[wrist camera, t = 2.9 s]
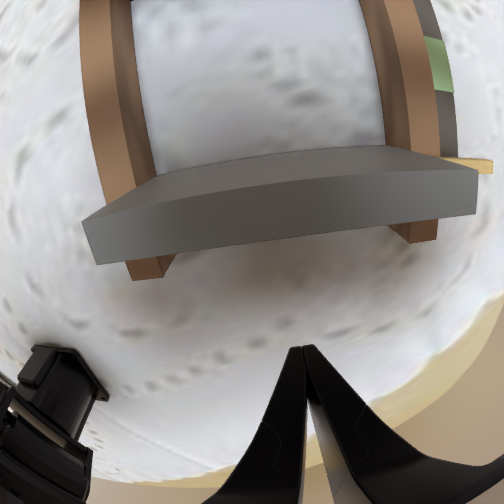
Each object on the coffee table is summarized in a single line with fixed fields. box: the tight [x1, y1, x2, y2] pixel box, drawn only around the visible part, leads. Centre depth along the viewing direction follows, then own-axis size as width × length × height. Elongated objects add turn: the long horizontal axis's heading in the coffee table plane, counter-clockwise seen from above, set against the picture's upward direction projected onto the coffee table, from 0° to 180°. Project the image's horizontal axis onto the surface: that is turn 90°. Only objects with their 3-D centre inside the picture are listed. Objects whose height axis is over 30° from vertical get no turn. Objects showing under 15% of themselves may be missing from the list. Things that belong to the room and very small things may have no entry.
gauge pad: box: [81, 145, 493, 265], centre depth 8 cm, size 1×15×6 cm, turn 99°
